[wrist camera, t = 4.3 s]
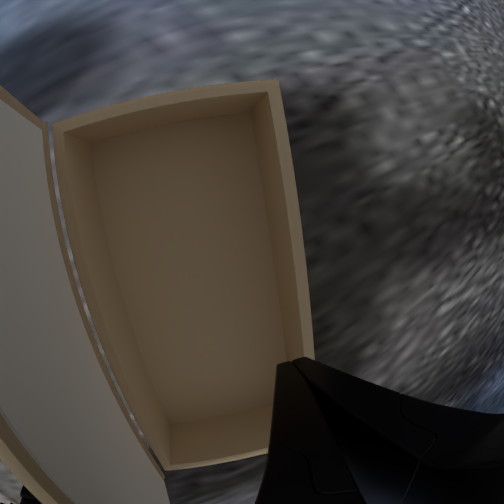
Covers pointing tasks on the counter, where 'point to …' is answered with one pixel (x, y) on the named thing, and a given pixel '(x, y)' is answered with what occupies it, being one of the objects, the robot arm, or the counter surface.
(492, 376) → the counter surface
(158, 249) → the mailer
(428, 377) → the counter surface
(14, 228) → the lid
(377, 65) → the counter surface
